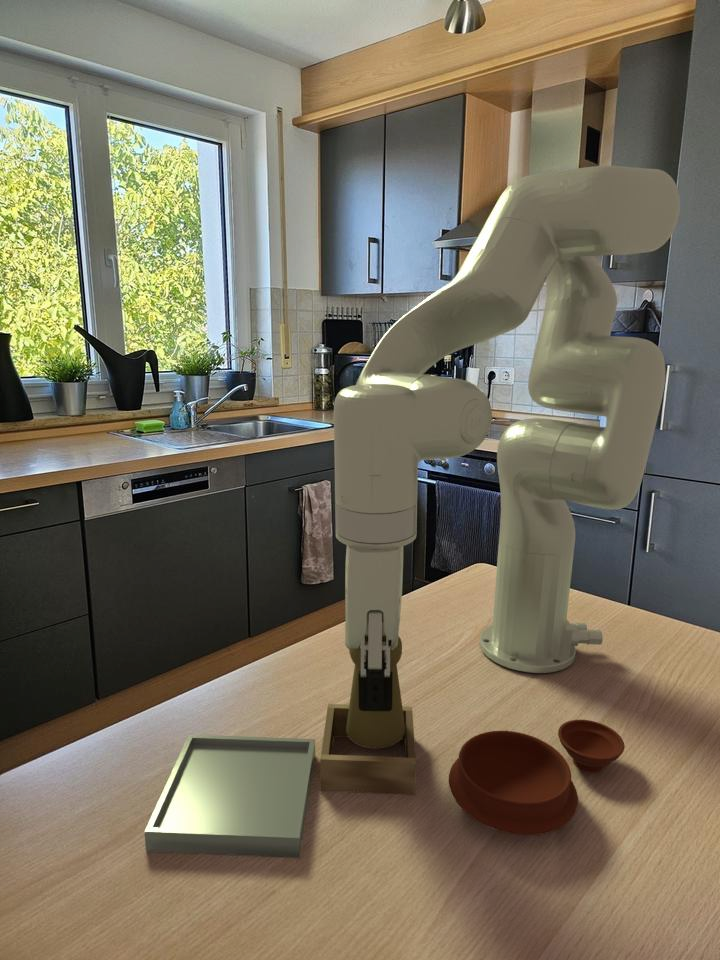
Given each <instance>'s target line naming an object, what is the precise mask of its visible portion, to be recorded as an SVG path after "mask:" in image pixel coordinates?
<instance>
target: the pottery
mask: <svg viewBox="0 0 720 960" xmlns="http://www.w3.org/2000/svg"><path fill="white" fill-rule="evenodd" d="M557 736H558V739H559V742H560V743H561V746H562V748H564V749H565V751H566V752H567V754H568V755H569V756H570V757H571V759H572V762H573V764H574V766H575V767H576V768H578V769H579V770H581V771H583V772H586V773H589V774H590V773H591V774H594V773H600V772H601V771H603V769H604V767H605V766H608V765H610V764H611V763H612V762H614V761H616V760H618V759H619V758H620V757H621V755H623V753H624V751H625V743H624V740H623V738H622V736H621V735H620V734H619V733H618V732H617V731H616V730H614V729H613V728H611V727H609V726H608V725H605V724H603V723H600V722H597V721H594V720H591V719H590V720H589V719H571V720H568V721H565V722H564V723H562V724H561V725H560V726H559V728H558V731H557ZM448 774H449V775H448V785H449V786H448V787H449V790H450V792H451V795H452V797H453V798H454V800H455V802H456V803H457V804H458V806H459V807H460V808H461V809H462V810H463V811H464V812H465V813H466V814H468V815H469V816H470V817H471V818H473V819H475V820H476V821H477V822H479V823H480V824H481V823H482V824H483V825H485V826H487V827H489V828H491V829H494V830H497V831H500V832H504V833H508V834H513V835H519V836H535V835H536V836H537V835H543V834H548V833H551V832H555V831H557V830H559V829H561V828H563V827H564V826H566V825H567V824H568V823H569V822H570V821H571V820H572V819H573V818H574V816H575V814H576V812H577V809H578V805H579V796H578V791H577V789H576V787H575V786H576V785H575V783H574V782H573V781H572V771H571V768H570V766H569V764H568V762H567V761H566V759H565V758H564V756H563V755H562V754H561V753H560V752H559V751H558V750H557V749H556V748H555V747H553V746H552V745H550V744H549V743H547V742H546V741H544V740H542V739H540V738H538V737H536V736H533V735H530V734H527V733H523V732H517V731H512V730H491V731H486V732H485V731H484V732H482V733H479V734H477V735H475V736H473V737H470V738H469V739H468V740H466V741H465V743H464V744H463V745H462V746H461V748H460V750H459V753H458V758H457V759H456V760H455V761H454V762H453V764H452V766H451V767H450V771H449V773H448Z"/></svg>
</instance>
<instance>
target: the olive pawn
mask: <svg viewBox="0 0 720 960" xmlns="http://www.w3.org/2000/svg"><path fill="white" fill-rule="evenodd" d="M365 642H368V637H365ZM382 642H386V637H382ZM360 645H361V643H360ZM348 653H349V657H350V658H351V662H352V663H353V664H354V666H353V667H354V668H353V669H354V670H353V675H352V684H351V691H350V699H349V703H348V705H349V712H348V719H347V727H346V732H347V735H348V737H347V738H349V739H350V740H351V741H352V742H353V743H355V744H356V745H358V746H359V747H362V748H363V747H364V748H366V749H367V748H368V749H383V748H389V747H392V746H393V745H396V744H398V743H399V742H400V741H401V740H403V739H402V738H403V736H404V734H405V723H404V716H403V708H402V706H403V702H402V695H401V689H400V679H399V671H398V663H399V662H400V660H401V658H402V654H403V643H402V639H401V637H400V636H399V635H398V644H397V646H396V648H394V649H393V650H391V649H390V672H392V673H393V678H392V710H391V711H361V710H360V709H359V688H358V673H359V671H361V648H360V646H359V648H358V649H352V650H349V649H348ZM366 659H368V651H367V655H366ZM382 659H384V660H385V651H382Z"/></svg>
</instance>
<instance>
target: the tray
mask: <svg viewBox="0 0 720 960" xmlns="http://www.w3.org/2000/svg"><path fill="white" fill-rule="evenodd" d="M315 759H316V739H315V738H296V737H295V738H292V737H291V738H290V737H271V736H270V737H267V736H265V737H263V736H245V735H244V736H239V735H238V736H237V735H215V734H213V735H212V734H188V735H187V738H186V740H185V742H184V744H183V746H182V749H181V751H180V753H179V755H178V757H177V759H176V762H175V764H174V765H173V768H172V771H171V773H170V775H169V777H168V780H167V782H166V784H165V785H164V788H163V790H162V792H161V795H160V797H159V799H158V801H157V803H156V805H155V807H154V810H153V811H152V814H151V816H150V819H149V820H148V823H147V825H146V827H145V829H144V845H145V852H151V853H152V852H157V853H177V854H179V853H180V854H196V855H197V854H200V855H219V856H220V855H222V856H223V855H224V856H226V855H227V856H246V857H268V858H269V857H271V858H273V857H274V858H290V859H291V858H293V859H298V858H299V859H300V855H301V851H302V843H303V837H304V831H305V824H306V823H305V822H306V817H307V811H308V805H309V804H308V803H309V798H310V793H311V792H310V791H311V785H312V778H313V773H314V772H313V771H314V764H315Z"/></svg>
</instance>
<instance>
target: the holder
mask: <svg viewBox="0 0 720 960" xmlns="http://www.w3.org/2000/svg"><path fill="white" fill-rule="evenodd" d="M402 708H403V716H404V723H405V734H404V736H403V738H402V739H401V740H404V755H405V756H404V757H402V756H401V757H400V756H399V757H398V756H397V757H396V756H377V755H376V756H370V755H350V754H348V755H347V754H346V755H343V754H333V748H334V746H333V745H334V741H335V740H334V739H335V737H336V738H337V737H338V738H339V737H340V738H349V737H348V735H347V732H346V727H347V719H348V712H349V704H348V703H347V704H346V703H345V704H341V703H328V704H327V709H326V717H325V724H324V731H323V738H322V744H321V745H322V746H321V750H320V751H321V752H320V759H319V762H320V764H319V765H320V766H319V767H320V771H319V774H320V776H319V779H320V782H319V785H320V786H319V788H320V789H319V790H320V792H337V793H338V792H340V793H341V792H342V793H348V792H349V793H364V794H365V793H368V794H370V793H371V794H394V795H395V794H396V795H416V794H415V793H416V792H415V791H416V771H417V770H416V769H417V758H416V757H417V755H416V743H415V741H416V740H415V729H414V714H413V706H403V705H402Z"/></svg>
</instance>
